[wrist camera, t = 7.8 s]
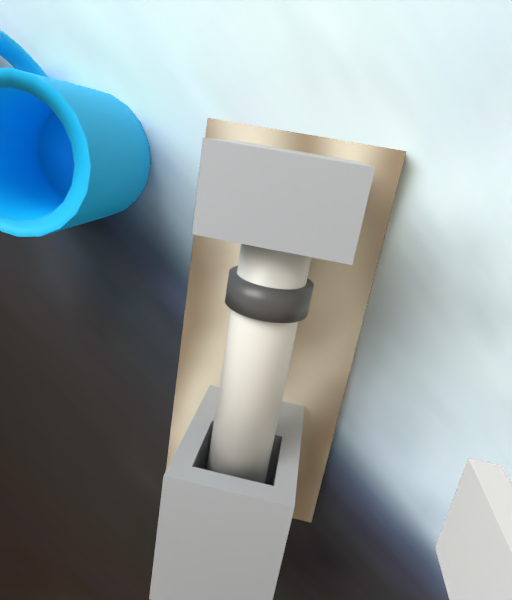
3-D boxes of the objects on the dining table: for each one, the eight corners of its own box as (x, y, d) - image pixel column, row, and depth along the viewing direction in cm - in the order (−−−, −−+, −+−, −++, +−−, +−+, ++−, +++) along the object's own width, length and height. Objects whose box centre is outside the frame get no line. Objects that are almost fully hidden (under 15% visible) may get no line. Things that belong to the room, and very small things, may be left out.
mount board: (168, 478, 38) (164, 486, 37) (211, 119, 29) (207, 117, 28) (311, 513, 37) (311, 522, 36) (403, 151, 28) (406, 151, 27)
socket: (344, 227, 29) (352, 265, 19) (235, 207, 29) (191, 234, 20) (359, 161, 28) (375, 167, 18) (245, 141, 28) (203, 137, 19)
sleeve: (282, 504, 36) (265, 630, 27) (195, 483, 37) (149, 598, 27) (304, 406, 33) (294, 507, 24) (209, 384, 34) (163, 475, 24)
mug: (173, 180, 31) (121, 190, 23) (80, 237, 33) (4, 263, 25) (72, 2, 28) (-24, -53, 21) (-22, 77, 30) (-140, 52, 23)
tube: (276, 457, 30) (267, 507, 26) (209, 442, 30) (190, 488, 26) (335, 179, 24) (336, 185, 20) (252, 164, 24) (236, 167, 20)
